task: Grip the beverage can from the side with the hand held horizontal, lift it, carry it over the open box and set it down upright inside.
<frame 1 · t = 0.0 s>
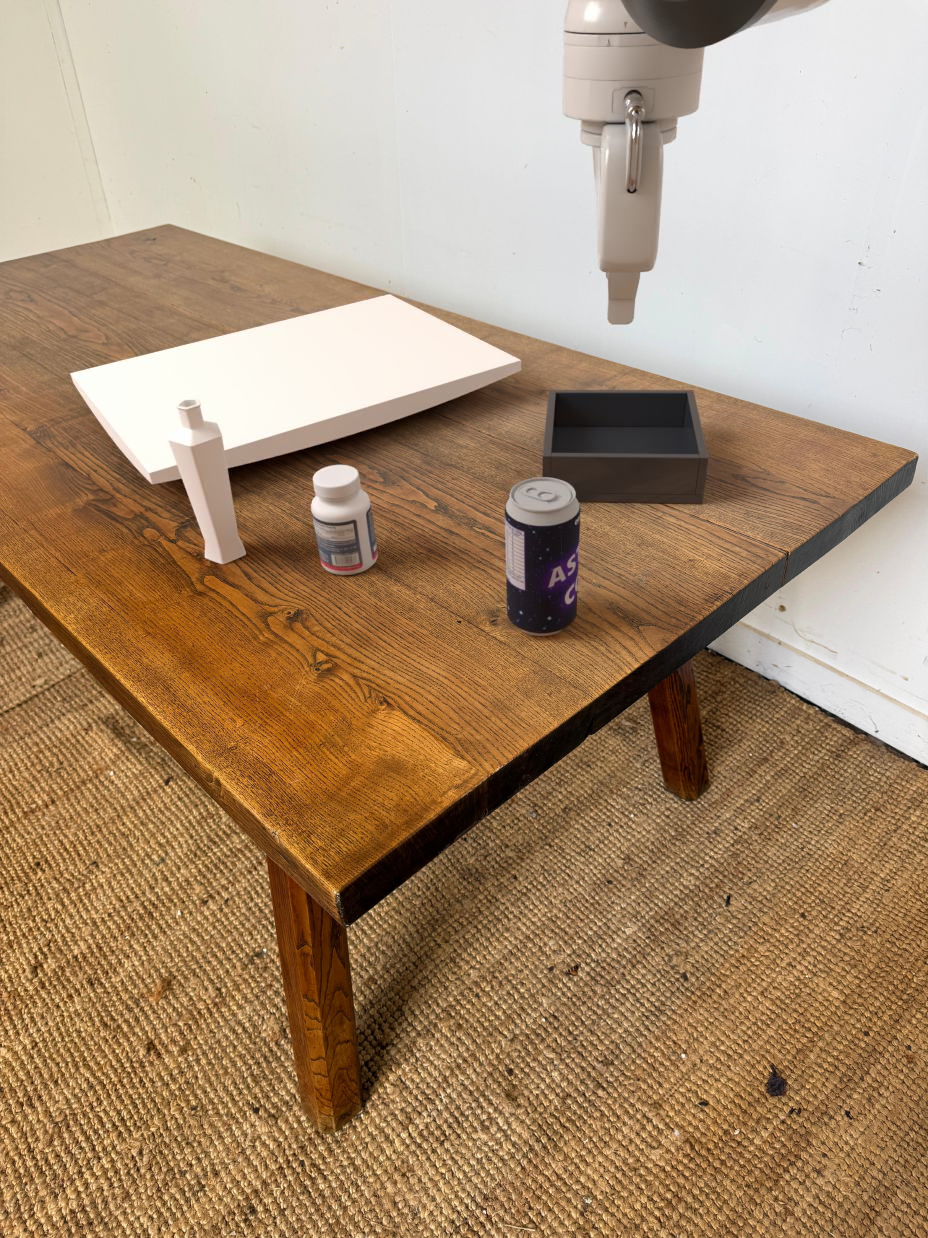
hand: (618, 298, 65), 23 cm above the table, tool pointing down, fingers open, 8 cm apart
beverage can: (541, 622, 73), on the table
board: (298, 404, 109), on the table
pill bottle: (349, 562, 81), on the table
perfume bottle: (228, 553, 83), on the table
open box: (619, 464, 93), on the table
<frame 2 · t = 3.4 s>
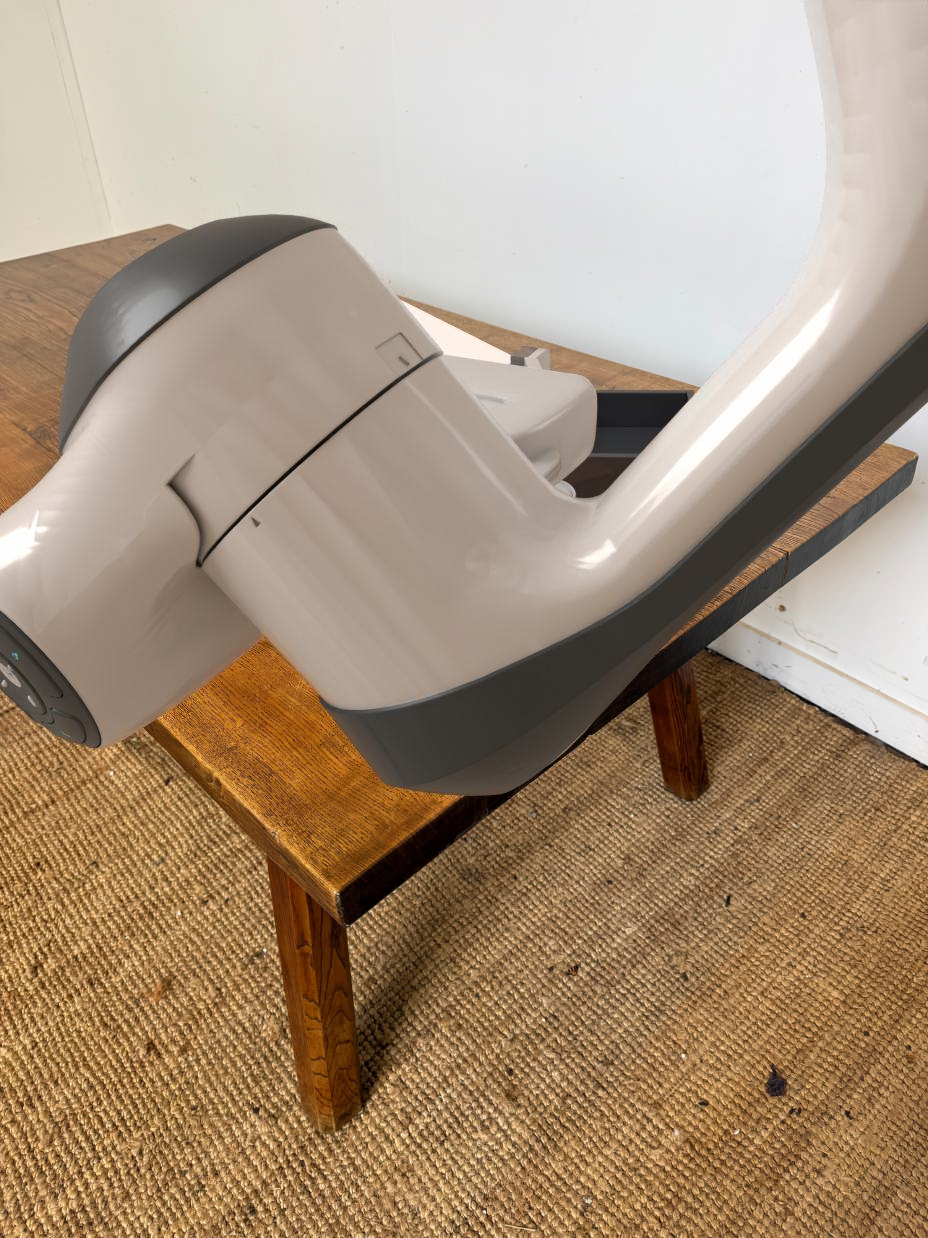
hand: (457, 349, 48), 27 cm above the table, tool horizontal, fingers open, 8 cm apart
nothing on the table moved.
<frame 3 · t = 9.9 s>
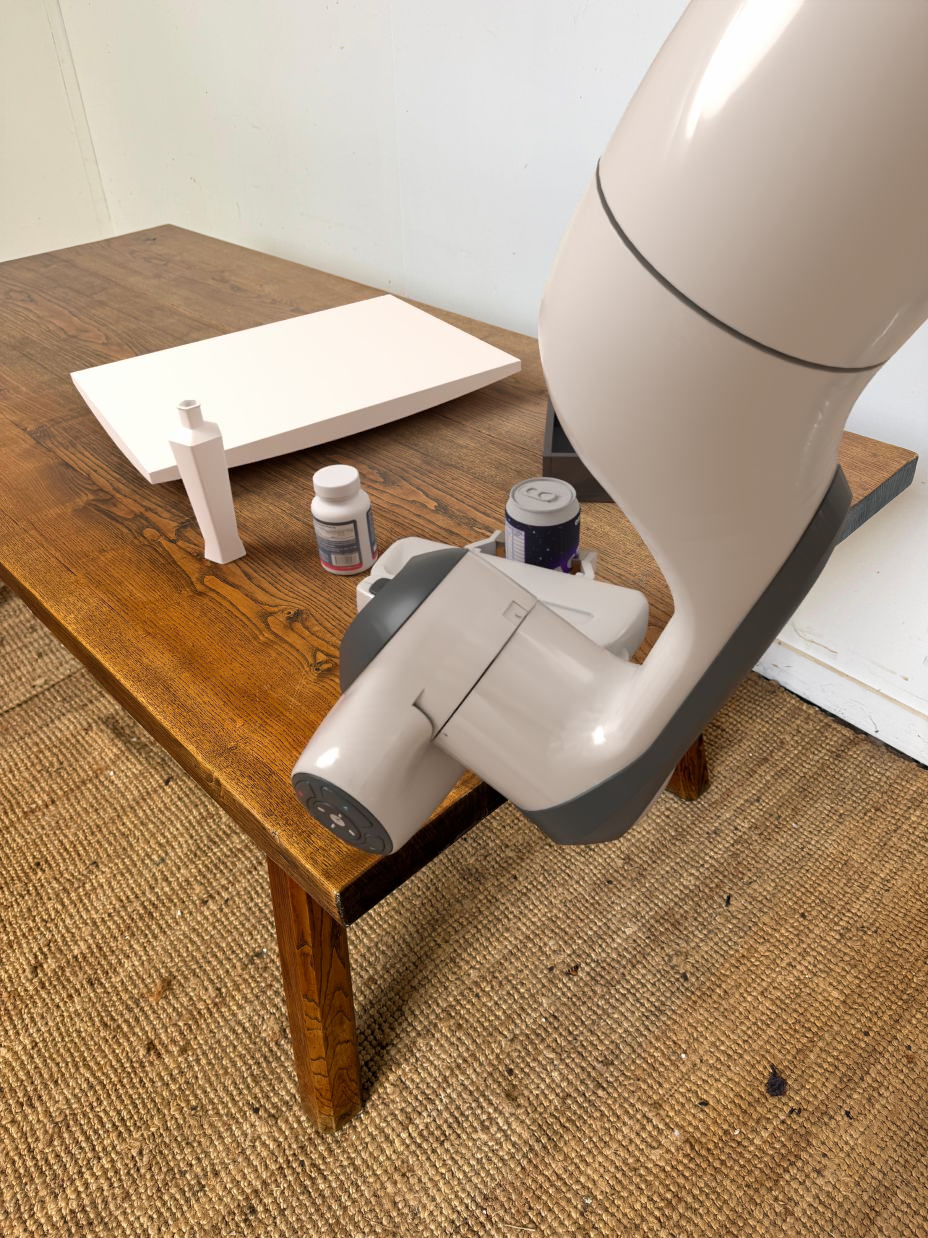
hand: (546, 547, 69), 7 cm above the table, tool horizontal, fingers closed on beverage can, 5 cm apart
beverage can: (541, 622, 73), on the table, touching gripper
everything else where it was.
when the fingers open (8 cm above the table, at t = 19.0 s): beverage can stays where it is, resting on open box.
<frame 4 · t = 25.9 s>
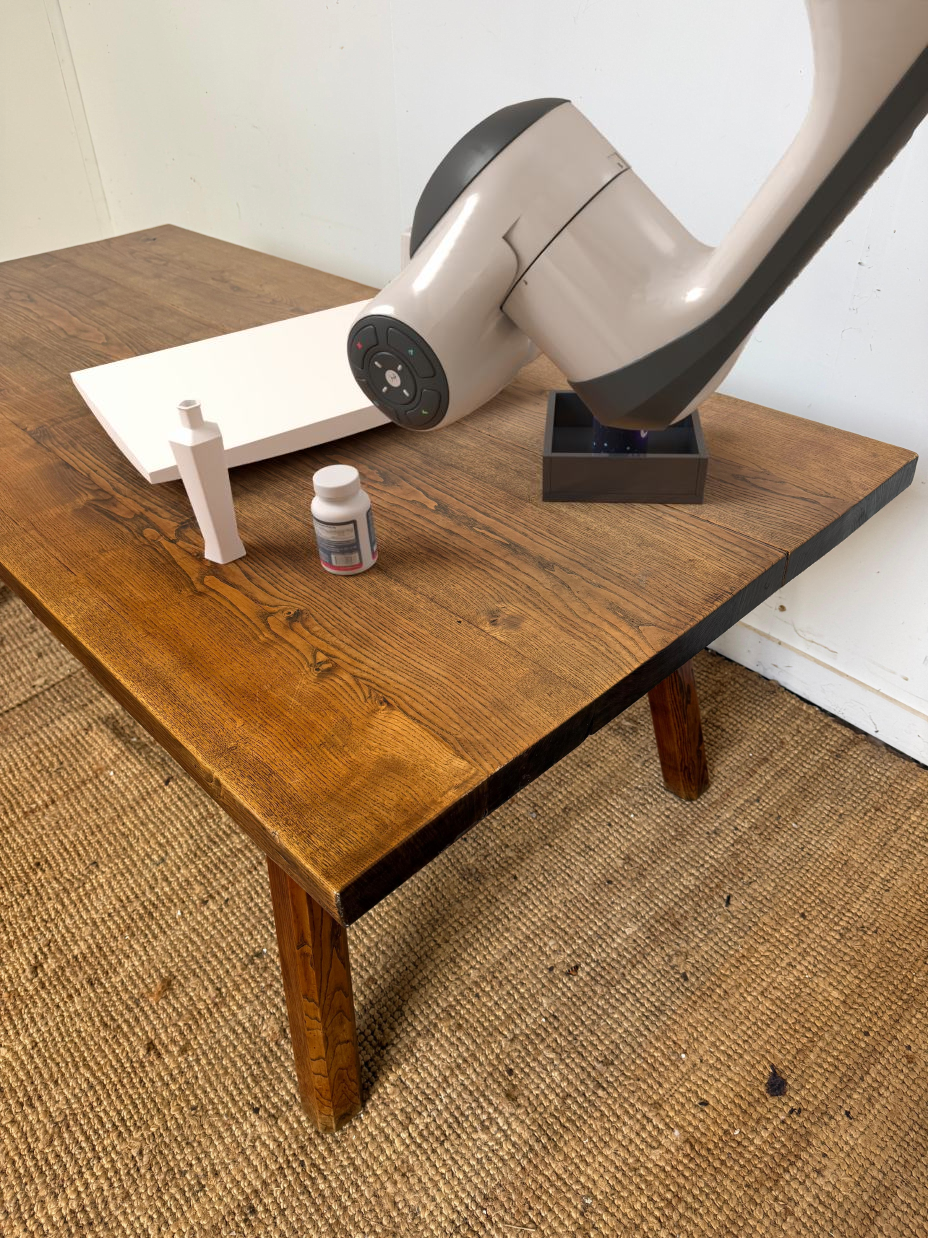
hand: (587, 235, 68), 26 cm above the table, tool horizontal, fingers open, 8 cm apart
beverage can: (618, 458, 92), point 1 cm above the table, touching open box
everything else where it was.
at the end: beverage can inside the target area in the open box (0.1 cm from its centre), point 0.8 cm above the open box's base; beverage can tilted 0° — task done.
